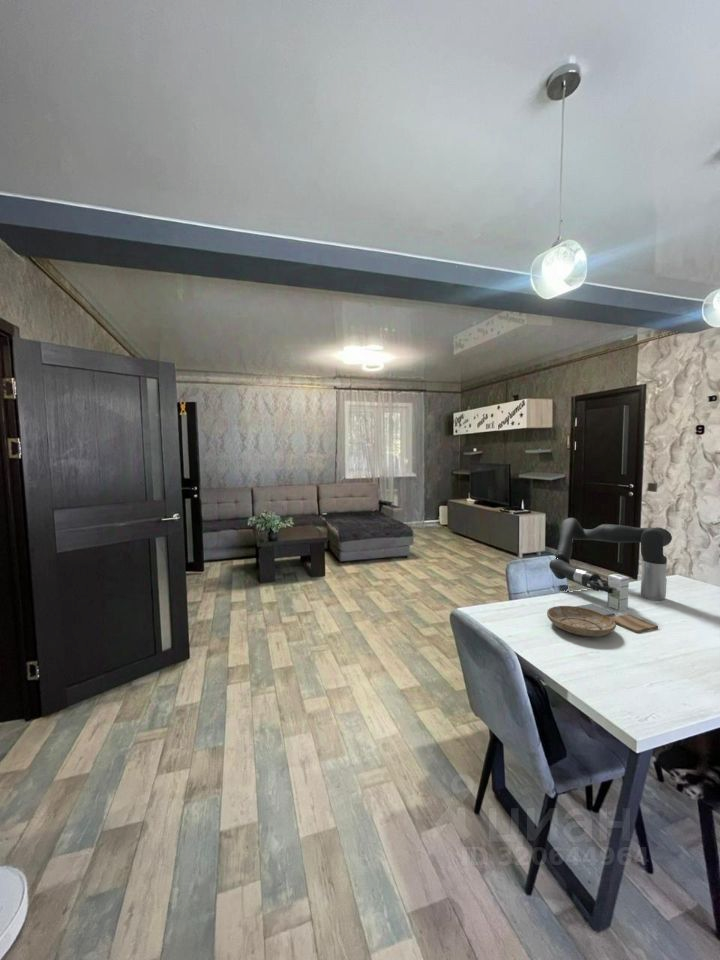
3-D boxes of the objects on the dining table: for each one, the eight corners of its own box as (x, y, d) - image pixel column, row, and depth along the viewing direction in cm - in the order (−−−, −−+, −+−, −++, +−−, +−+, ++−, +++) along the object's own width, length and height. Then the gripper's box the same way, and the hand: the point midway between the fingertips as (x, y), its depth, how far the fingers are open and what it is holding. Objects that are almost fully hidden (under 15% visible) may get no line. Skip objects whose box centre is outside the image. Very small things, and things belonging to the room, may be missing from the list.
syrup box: (628, 609, 171) (629, 577, 170) (619, 611, 169) (620, 578, 168) (615, 604, 177) (617, 573, 176) (606, 606, 175) (607, 574, 174)
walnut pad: (628, 616, 164) (628, 614, 164) (658, 628, 153) (658, 625, 153) (607, 620, 160) (607, 617, 160) (636, 633, 149) (636, 630, 149)
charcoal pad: (591, 605, 175) (591, 603, 175) (614, 615, 165) (615, 613, 165) (573, 608, 172) (573, 606, 172) (595, 619, 162) (595, 616, 161)
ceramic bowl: (627, 646, 139) (627, 632, 139) (555, 639, 144) (556, 626, 144) (601, 619, 162) (601, 607, 162) (540, 614, 167) (540, 602, 166)
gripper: (597, 584, 190) (630, 596, 175) (575, 588, 185) (606, 600, 170) (598, 569, 189) (630, 580, 174) (575, 572, 185) (607, 583, 169)
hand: (618, 590), depth 172 cm, fingers open, 8 cm apart
